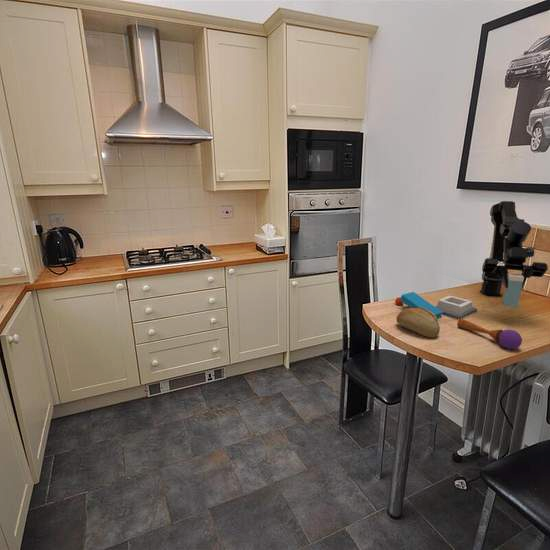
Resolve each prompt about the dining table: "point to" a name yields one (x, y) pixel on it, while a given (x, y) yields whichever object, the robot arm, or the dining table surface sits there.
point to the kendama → (495, 334)
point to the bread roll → (419, 321)
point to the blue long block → (417, 303)
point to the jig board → (455, 307)
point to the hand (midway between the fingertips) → (514, 288)
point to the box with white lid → (513, 290)
